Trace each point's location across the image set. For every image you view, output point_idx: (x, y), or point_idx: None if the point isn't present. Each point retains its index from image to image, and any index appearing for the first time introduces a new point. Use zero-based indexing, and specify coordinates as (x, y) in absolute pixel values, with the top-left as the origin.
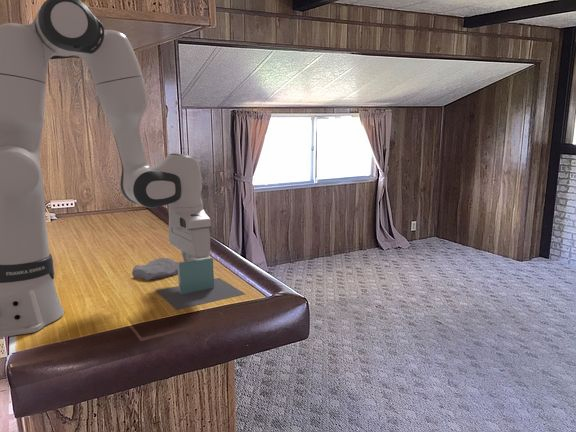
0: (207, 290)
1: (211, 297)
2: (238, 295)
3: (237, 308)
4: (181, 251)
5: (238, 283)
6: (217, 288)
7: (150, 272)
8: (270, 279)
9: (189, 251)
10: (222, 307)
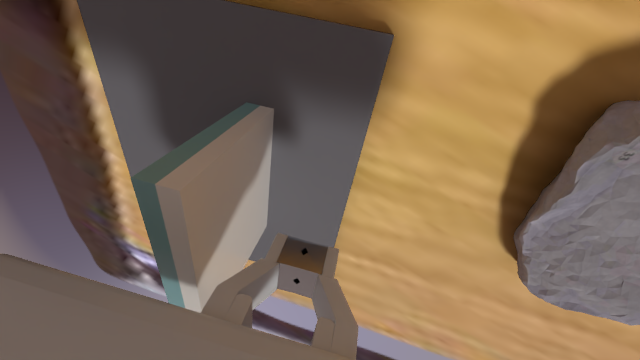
0: None
1: (157, 157)
2: None
3: (69, 156)
4: (350, 342)
5: None
6: None
7: (637, 147)
8: None
9: (64, 313)
10: (87, 134)
